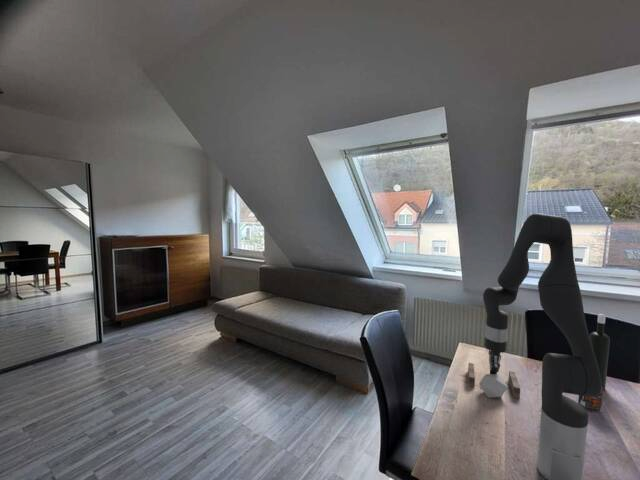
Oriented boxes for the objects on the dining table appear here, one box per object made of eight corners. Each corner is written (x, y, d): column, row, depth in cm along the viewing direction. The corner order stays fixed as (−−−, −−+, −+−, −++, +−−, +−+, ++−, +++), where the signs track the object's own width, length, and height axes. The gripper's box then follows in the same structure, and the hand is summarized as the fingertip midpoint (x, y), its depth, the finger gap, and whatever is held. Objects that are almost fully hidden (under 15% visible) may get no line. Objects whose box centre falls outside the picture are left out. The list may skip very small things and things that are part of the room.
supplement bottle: (583, 411, 100) (586, 381, 99) (574, 400, 106) (576, 371, 104) (605, 414, 98) (608, 383, 97) (594, 403, 104) (597, 374, 103)
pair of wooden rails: (519, 398, 107) (520, 388, 107) (468, 386, 114) (469, 377, 114) (514, 381, 118) (514, 372, 117) (468, 371, 125) (468, 362, 125)
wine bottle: (581, 383, 116) (588, 312, 113) (590, 380, 118) (597, 310, 115) (599, 392, 110) (607, 317, 107) (608, 388, 112) (615, 315, 109)
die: (505, 407, 103) (515, 383, 105) (484, 394, 104) (494, 370, 106) (491, 400, 111) (501, 377, 113) (471, 388, 112) (481, 365, 114)
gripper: (509, 346, 103) (506, 390, 105) (504, 331, 115) (501, 371, 117) (486, 342, 106) (483, 385, 109) (483, 328, 118) (481, 367, 120)
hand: (492, 378), depth 113 cm, fingers closed
